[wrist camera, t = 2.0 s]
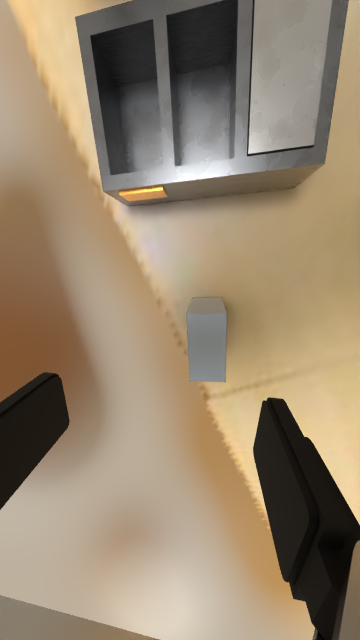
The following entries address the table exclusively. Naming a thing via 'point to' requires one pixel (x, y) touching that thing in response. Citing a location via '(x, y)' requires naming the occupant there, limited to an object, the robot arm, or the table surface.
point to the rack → (210, 94)
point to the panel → (207, 339)
